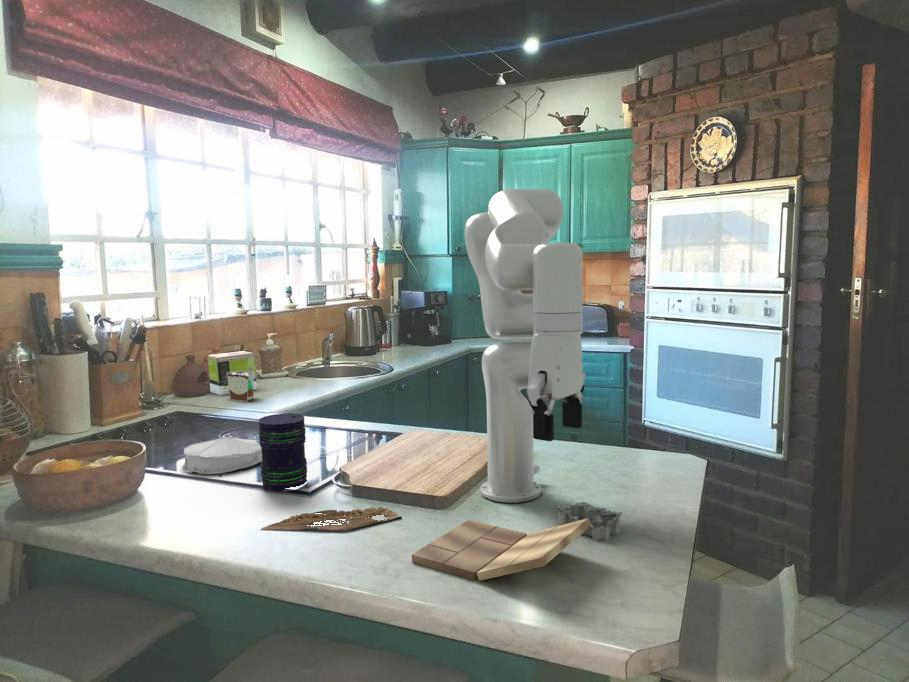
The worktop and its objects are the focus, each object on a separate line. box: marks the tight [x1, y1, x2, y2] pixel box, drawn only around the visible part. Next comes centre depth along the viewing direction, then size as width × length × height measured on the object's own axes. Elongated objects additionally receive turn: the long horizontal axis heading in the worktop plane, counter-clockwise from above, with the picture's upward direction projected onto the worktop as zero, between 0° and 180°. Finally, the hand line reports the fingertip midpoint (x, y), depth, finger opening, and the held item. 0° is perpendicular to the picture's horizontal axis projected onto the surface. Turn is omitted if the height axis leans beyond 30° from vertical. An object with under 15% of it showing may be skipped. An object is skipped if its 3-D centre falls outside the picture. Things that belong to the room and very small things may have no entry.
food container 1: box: [182, 436, 262, 475], centre depth 164 cm, size 20×20×7 cm
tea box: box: [207, 350, 258, 396], centre depth 257 cm, size 15×10×15 cm, turn 130°
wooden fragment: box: [260, 506, 402, 532], centre depth 125 cm, size 26×11×1 cm, turn 97°
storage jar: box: [258, 413, 308, 493], centre depth 146 cm, size 10×10×15 cm
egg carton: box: [554, 501, 623, 541], centre depth 120 cm, size 11×8×4 cm
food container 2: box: [226, 371, 255, 403], centre depth 241 cm, size 12×6×10 cm, turn 58°
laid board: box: [411, 519, 528, 581], centre depth 111 cm, size 17×12×1 cm
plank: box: [477, 518, 591, 582], centre depth 104 cm, size 17×12×1 cm
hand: (558, 433), depth 104 cm, fingers open, 9 cm apart
